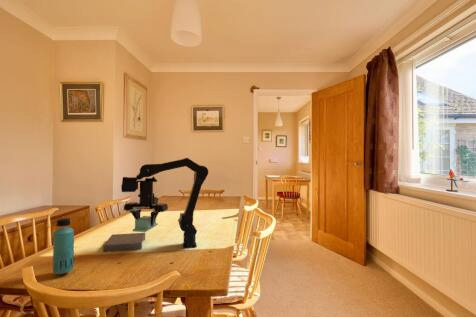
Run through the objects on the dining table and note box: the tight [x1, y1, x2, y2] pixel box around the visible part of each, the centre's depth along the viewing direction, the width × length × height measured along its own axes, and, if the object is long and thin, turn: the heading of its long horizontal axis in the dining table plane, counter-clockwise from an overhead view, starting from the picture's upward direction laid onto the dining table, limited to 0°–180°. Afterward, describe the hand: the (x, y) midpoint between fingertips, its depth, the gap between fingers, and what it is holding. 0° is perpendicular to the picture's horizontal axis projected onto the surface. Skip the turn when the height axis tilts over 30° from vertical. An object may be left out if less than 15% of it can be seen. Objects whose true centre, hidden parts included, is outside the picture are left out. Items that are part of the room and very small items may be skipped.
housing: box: [132, 215, 159, 233], centre depth 115 cm, size 12×6×5 cm, turn 173°
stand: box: [102, 232, 146, 253], centre depth 122 cm, size 16×16×3 cm
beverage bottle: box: [52, 217, 75, 275], centre depth 91 cm, size 6×7×20 cm
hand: (145, 225), depth 115 cm, fingers closed on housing, 6 cm apart
